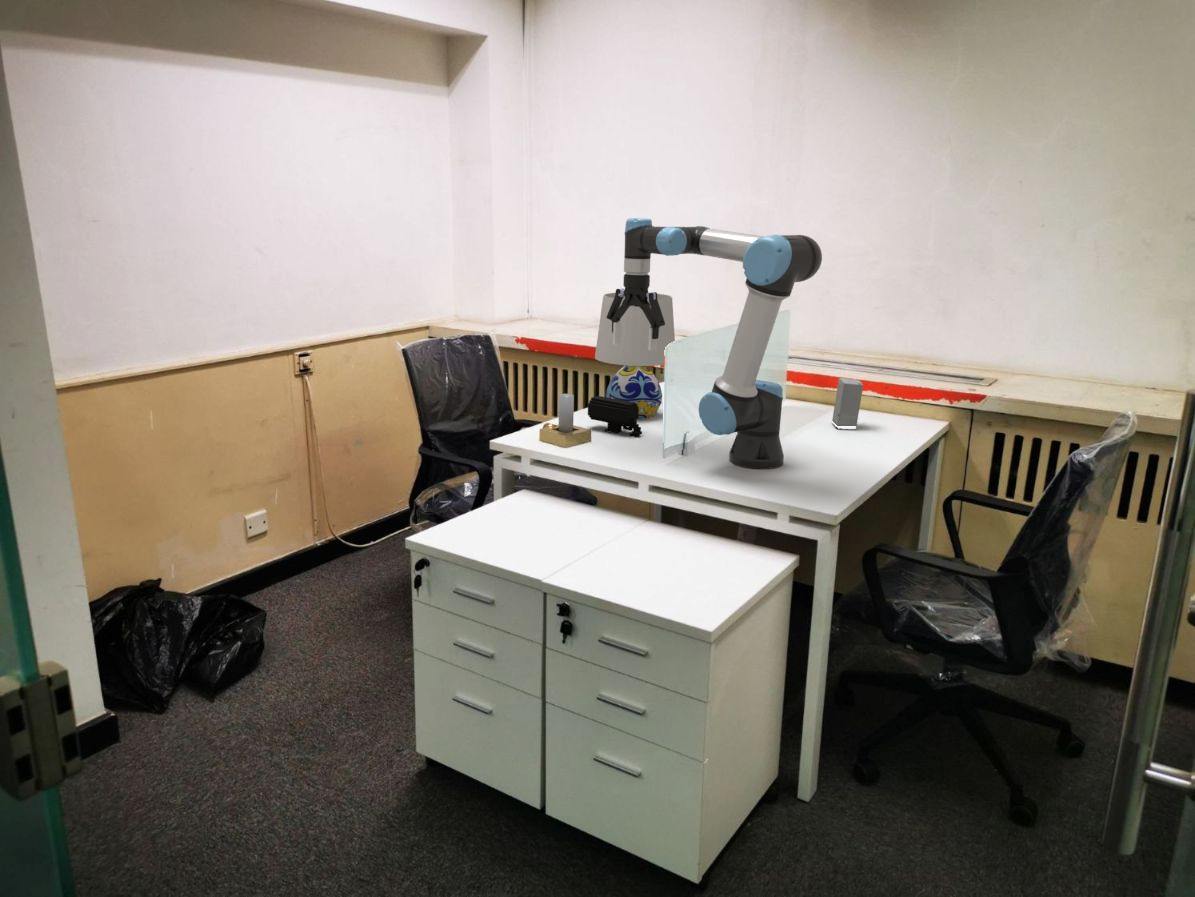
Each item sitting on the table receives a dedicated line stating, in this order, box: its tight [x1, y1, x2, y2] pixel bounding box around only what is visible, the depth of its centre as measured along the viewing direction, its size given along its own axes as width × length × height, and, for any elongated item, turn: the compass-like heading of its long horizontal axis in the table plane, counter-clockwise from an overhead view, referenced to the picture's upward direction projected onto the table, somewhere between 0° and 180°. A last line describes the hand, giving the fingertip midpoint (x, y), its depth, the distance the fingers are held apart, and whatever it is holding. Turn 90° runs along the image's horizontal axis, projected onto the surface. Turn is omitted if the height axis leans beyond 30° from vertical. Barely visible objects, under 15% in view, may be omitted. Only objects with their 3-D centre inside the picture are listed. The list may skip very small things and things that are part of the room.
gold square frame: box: [538, 422, 592, 449], centre depth 271 cm, size 14×11×4 cm
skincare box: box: [831, 377, 864, 427], centre depth 294 cm, size 8×7×16 cm
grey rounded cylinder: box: [558, 393, 575, 433], centre depth 269 cm, size 4×4×14 cm
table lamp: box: [594, 292, 676, 421], centre depth 300 cm, size 27×27×40 cm
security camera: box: [587, 395, 643, 438], centre depth 281 cm, size 7×18×10 cm, turn 53°
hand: (634, 347), depth 264 cm, fingers open, 13 cm apart
